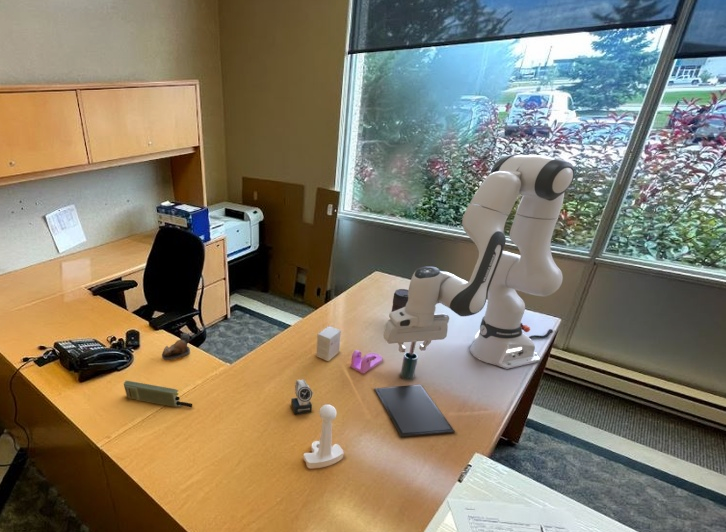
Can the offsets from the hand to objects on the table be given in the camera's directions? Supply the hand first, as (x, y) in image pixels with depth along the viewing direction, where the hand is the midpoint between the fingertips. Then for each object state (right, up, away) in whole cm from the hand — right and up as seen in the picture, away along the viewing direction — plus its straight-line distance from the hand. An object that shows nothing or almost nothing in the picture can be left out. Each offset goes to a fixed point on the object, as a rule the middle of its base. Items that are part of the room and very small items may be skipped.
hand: (412, 350), depth 142 cm
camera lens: (+11, +9, +37) cm, 39 cm away
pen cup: (+1, -10, +5) cm, 11 cm away
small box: (-24, -3, +20) cm, 32 cm away
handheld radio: (-87, -18, +2) cm, 89 cm away
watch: (-39, -19, -6) cm, 44 cm away
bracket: (-11, -6, +13) cm, 18 cm away
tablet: (-4, -19, -9) cm, 21 cm away
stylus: (+1, -9, +5) cm, 11 cm away
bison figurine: (-84, -5, +26) cm, 88 cm away
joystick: (-37, -29, -23) cm, 52 cm away
